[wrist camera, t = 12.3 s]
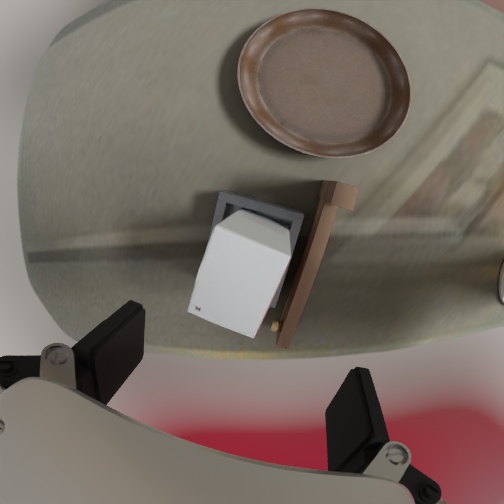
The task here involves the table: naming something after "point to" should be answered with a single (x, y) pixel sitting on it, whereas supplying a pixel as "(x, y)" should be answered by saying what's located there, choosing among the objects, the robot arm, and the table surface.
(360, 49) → the plant saucer
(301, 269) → the brown l-shaped wood piece
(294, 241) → the gray square tray
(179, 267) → the table surface
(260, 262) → the small box
